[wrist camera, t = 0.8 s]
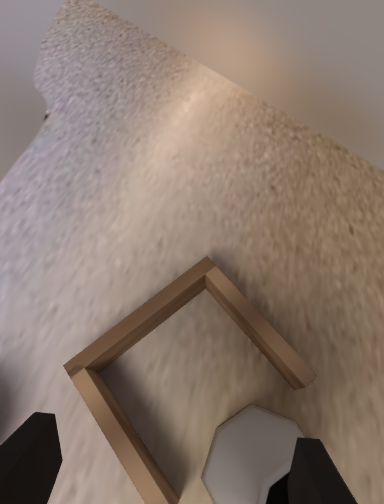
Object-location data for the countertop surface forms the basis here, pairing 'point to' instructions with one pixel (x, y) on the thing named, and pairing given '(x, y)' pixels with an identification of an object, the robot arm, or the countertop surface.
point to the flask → (251, 458)
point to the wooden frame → (138, 326)
